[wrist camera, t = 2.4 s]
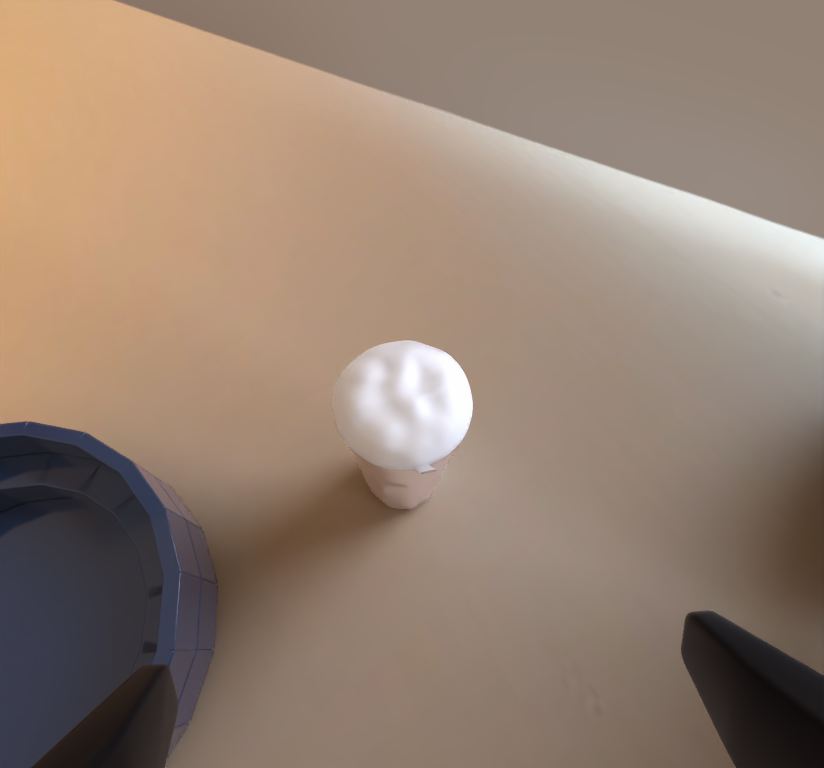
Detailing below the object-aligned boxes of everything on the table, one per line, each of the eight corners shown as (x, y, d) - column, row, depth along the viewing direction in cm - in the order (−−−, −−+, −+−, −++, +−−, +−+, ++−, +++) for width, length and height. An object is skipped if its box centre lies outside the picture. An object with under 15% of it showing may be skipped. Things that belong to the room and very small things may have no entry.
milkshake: (367, 553, 22) (342, 490, 13) (347, 440, 24) (314, 323, 16) (468, 530, 23) (509, 454, 14) (438, 421, 25) (457, 297, 16)
